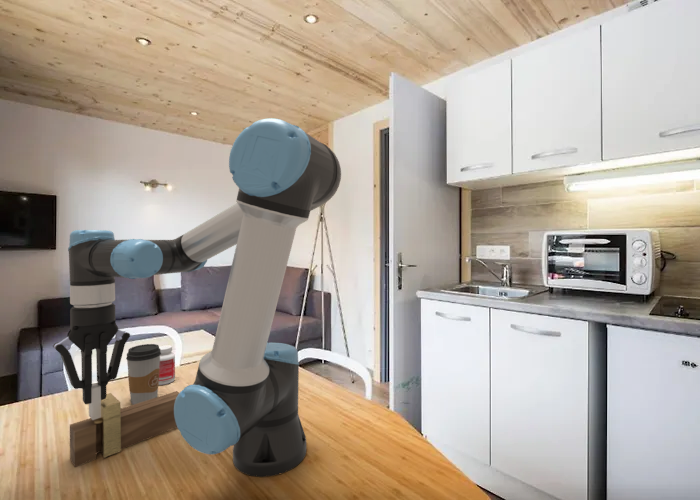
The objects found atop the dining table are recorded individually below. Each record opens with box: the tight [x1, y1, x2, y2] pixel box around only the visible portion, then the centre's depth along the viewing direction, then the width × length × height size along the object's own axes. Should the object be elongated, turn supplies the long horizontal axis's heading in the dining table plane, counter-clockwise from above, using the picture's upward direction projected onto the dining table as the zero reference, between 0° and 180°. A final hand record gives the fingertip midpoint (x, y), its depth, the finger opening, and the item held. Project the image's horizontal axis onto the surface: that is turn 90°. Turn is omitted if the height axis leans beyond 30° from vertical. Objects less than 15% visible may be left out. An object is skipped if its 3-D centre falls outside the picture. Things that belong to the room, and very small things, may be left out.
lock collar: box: [101, 392, 122, 459], centre depth 74 cm, size 7×3×10 cm, turn 49°
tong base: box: [69, 390, 180, 468], centre depth 78 cm, size 4×21×7 cm, turn 139°
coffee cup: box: [125, 343, 161, 405], centre depth 96 cm, size 8×8×15 cm
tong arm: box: [100, 395, 178, 455], centre depth 79 cm, size 2×16×7 cm, turn 139°
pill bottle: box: [158, 344, 176, 386], centre depth 110 cm, size 6×6×11 cm
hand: (95, 416), depth 72 cm, fingers closed
